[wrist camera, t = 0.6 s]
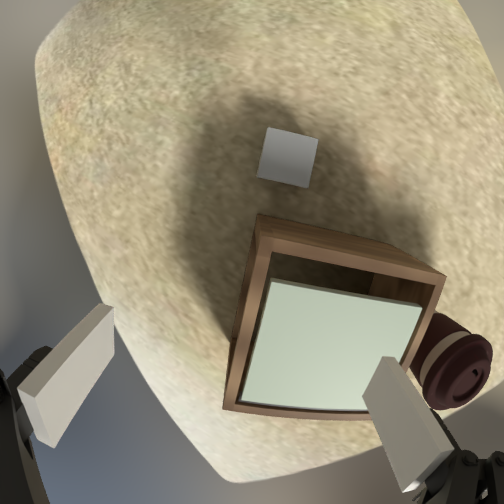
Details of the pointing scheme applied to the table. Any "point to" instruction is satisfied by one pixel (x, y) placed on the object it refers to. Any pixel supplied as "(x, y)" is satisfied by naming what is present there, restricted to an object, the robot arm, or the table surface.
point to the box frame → (335, 252)
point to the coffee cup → (451, 363)
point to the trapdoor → (323, 346)
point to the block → (287, 157)
